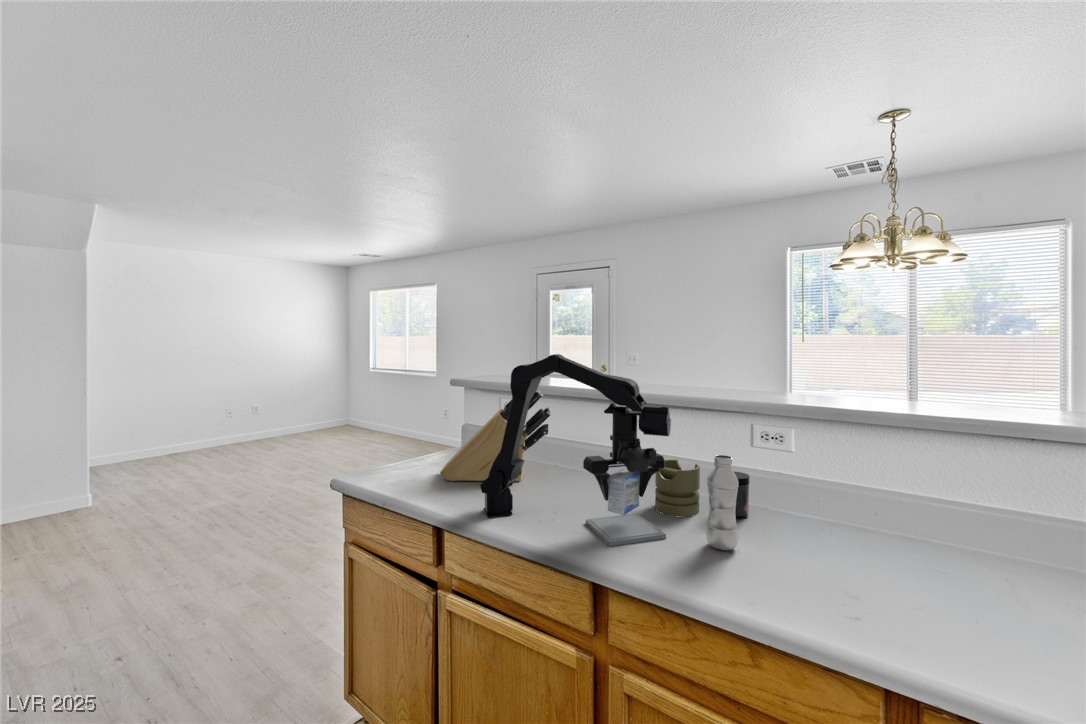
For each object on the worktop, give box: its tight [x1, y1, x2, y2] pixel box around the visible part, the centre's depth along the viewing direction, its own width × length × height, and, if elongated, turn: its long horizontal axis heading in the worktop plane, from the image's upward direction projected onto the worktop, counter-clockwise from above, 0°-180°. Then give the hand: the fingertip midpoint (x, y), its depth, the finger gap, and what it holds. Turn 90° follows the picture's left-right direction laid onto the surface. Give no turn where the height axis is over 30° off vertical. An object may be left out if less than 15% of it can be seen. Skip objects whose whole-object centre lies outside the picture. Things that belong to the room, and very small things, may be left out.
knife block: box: [439, 388, 552, 482], centre depth 163 cm, size 11×35×31 cm, turn 89°
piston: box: [654, 459, 701, 518], centre depth 133 cm, size 11×12×11 cm
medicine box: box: [607, 468, 640, 515], centre depth 119 cm, size 8×4×9 cm, turn 143°
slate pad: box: [585, 513, 667, 547], centre depth 119 cm, size 14×14×1 cm
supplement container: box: [732, 470, 751, 520], centre depth 129 cm, size 7×7×10 cm
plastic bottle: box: [705, 454, 739, 551], centre depth 109 cm, size 6×7×20 cm
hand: (623, 498), depth 119 cm, fingers closed on medicine box, 9 cm apart
